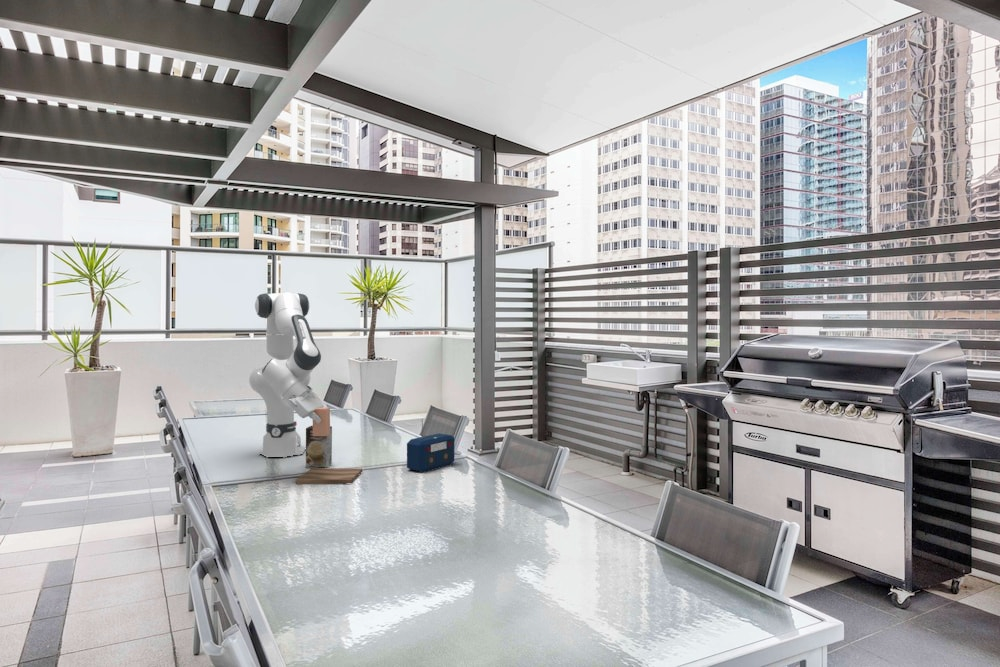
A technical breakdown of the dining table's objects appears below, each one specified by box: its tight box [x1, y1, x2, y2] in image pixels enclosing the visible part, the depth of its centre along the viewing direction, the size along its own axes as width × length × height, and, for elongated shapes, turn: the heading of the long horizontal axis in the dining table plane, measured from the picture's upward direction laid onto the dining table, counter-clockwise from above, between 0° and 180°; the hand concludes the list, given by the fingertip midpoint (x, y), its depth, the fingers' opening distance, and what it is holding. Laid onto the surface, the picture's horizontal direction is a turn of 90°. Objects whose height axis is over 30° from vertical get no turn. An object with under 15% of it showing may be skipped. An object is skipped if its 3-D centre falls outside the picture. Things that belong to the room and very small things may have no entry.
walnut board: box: [295, 467, 363, 485], centre depth 241 cm, size 18×20×2 cm
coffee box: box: [305, 425, 333, 468], centre depth 260 cm, size 9×6×16 cm
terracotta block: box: [312, 407, 331, 436], centre depth 240 cm, size 5×5×10 cm
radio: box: [406, 419, 455, 473], centre depth 258 cm, size 21×9×20 cm, turn 143°
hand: (323, 420), depth 240 cm, fingers closed on terracotta block, 5 cm apart
